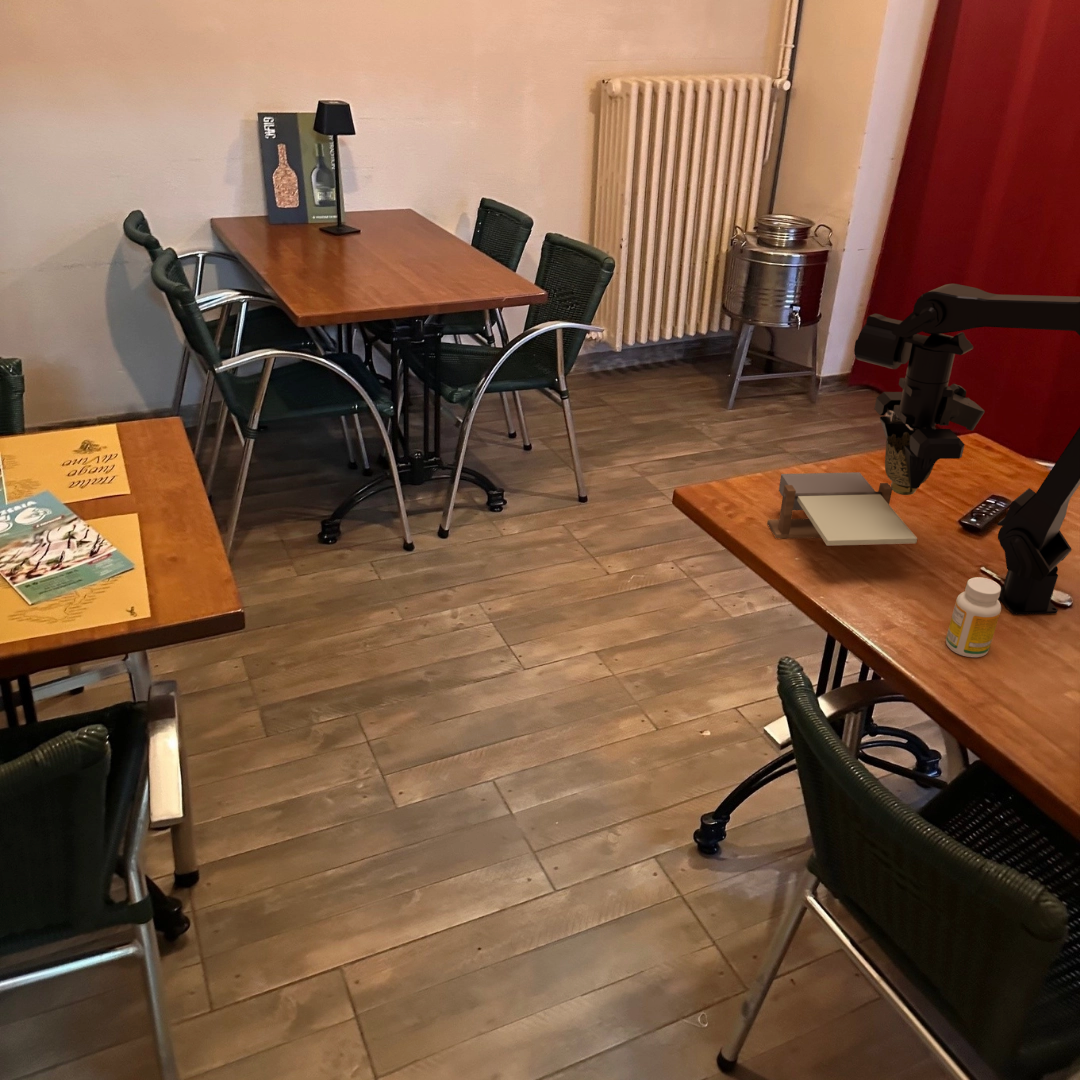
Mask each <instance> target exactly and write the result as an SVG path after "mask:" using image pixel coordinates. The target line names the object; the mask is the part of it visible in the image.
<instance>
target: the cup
mask: <svg viewBox="0 0 1080 1080" xmlns="http://www.w3.org/2000/svg"><path fill="white" fill-rule="evenodd" d="M910 437H911V435H909V433H908V432H905V433H904V434H903V436H902V438H899V437H898V438H896V435H895V434H892V436H891V437H890V436H888V437H887V440H886V441H885V452H884V453H885V455H884V458H885V459H884V471H885V474H886V476H887V478H888V479H889V480H890V481H891V482H890V486H891V488H892V492H894V493H896V494H898V495H902V496H910V495H914V494H915V493H916V491H917V489H918V488H917V489H912V488H911V487H910V483H909V477H908V469H907V462H906V455H905V447H904V446H910V443H909V442H910ZM934 466H935V464H934V465H933V466H932V468H931V469H930V471H929V472H928V474H927V476H926V477H925V479H924V480H923V482H922V483H921V485H923V484H924V483H925V482H926V481H927V480H928V479H929V477H930V475H931V474H932V471H933V469H934Z"/></svg>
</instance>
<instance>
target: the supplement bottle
mask: <svg viewBox="0 0 1080 1080" xmlns="http://www.w3.org/2000/svg"><path fill="white" fill-rule="evenodd" d="M1001 587H1002V586H1001V585H1000V584H999V583H997V582H996V581H994V580H993V579H990V578H986V577H982V576H981V577H980V576H978V577H977V576H976V577H972V578H970V579H968V580H967V582H966V586H965V588H964V589H965V591H963V592H961V593H959V594H958V596H957V597H956V600H955V604H954V608H953V610H952V615H951V619H950V623H949V626H948V629H947V633H946V637H945V643H946V646H947V647H948V648H949V649H950V650H951V651H952V652H954V653H955V654H957V655H959V656H963V657H968V658H981V657H984V656H985V655H987V654H988V652H989V651H990V648H991V645H992V642H993V637H994V634H995V633H996V632H995V631H996V627H997V625H998V621H999V617H1000V614H1001V611H1002V605H1001V603H1000V600H999V596H1000V592H1001Z"/></svg>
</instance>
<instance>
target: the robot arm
mask: <svg viewBox="0 0 1080 1080" xmlns="http://www.w3.org/2000/svg"><path fill="white" fill-rule="evenodd" d="M983 327H984V328H1000V329H1001V328H1005V329H1026V330H1048V331H1064V332H1065V331H1069V332H1071V331H1072V332H1076V333H1077V334H1078V336H1079V337H1080V296H1068V295H1067V296H1065V295H1033V294H1032V295H1031V294H1030V295H1029V294H1028V295H1027V294H1024V295H1023V294H996V293H991V292H987V291H985V290H983V289H980V288H979V287H978V288H977V287H972V286H969V285H962V284H959V283H948V284H944V285H942V286H938V287H937V288H934V289H932V290H929V291H926V292H924V293H922V294H921V295H920V296H919V297H918V298H917V299H916V301H915V303H914V305H913V311H912V312H911V313H910V314H909V315H908V316H907V317H906V318H904V319H903V320H899V319H895V318H891V317H886V316H885V315H882V314H879V313H873V314H870V315H868V316H867V317H866V323H865V324H864V326H863V327H862V328H861V330H860V332H859V335H858V337H857V339H855V343H854V348H853V350H854V351H853V352H854V353H853V354H854V357H855V359H856V360H858V361H861V362H865V363H868V364H873V365H877V366H880V367H885V368H887V369H891V370H897V369H898V368H899V367H901V365H906V364H907V368H906V372H905V377H899V380H898V386H899V387H900V388H901V389H902V391H883V392H881V393H880V394H879V395H878V396H877V397H876V399H875V405H874V410H875V412H876V413H877V414H878V415H879V421H880V423H881V428H882V429H883V432H884V436H885V439H886V440H887V437H888V436H890V437H891V436H892V434H895V435H896V438H898V437H899V438H902V436H903V434H904V433H905V432H908V433H909V435H911V437H910V442H909V443H910V446H904V447H905V455H906V462H907V469H908V477H909V483H910V487H911V488H912V489H919V488H920V486H921V485H922V484H923V483H922V482H923V480H924V479H925V477H926V476H927V474H928V472H929V471H930V469H931V468H932V466H933V465H934V466H935V464H936V463H937V462H938V460H940V459H941V460H944V459H945V460H946V459H947V460H951V459H954V460H956V459H957V460H958V459H961V458H962V457H963V453H964V450H965V443H964V442H963V441H962V440H961V438H960V437H959V436H958V435H957V434H956V433H955V432H954V431H953V430H951V428H936V425H939V426H940V427H941V426H942V427H943V426H945V427H946V426H949V425H950V422H951V423H953V424H955V425H959V426H962V427H964V428H966V430H968V431H974V430H975V428H976V426H977V424H979V422H980V420H981V418H982V417H983V415H984V414H985V409H983V408H982V407H981V406H980V405H979V404H977V403H976V401H973V400H972V399H970V397H967V390H966V389H965V388H964V387H963V386H961V385H958V384H956V383H952V384H951V385H949V382H950V378H951V374H952V368H953V365H954V364H953V363H954V360H955V356H956V355H957V356H962V355H964V354H966V353H968V352H970V351H971V350H974V346H973V344H972V342H971V341H970V340H968V339H967V337H966V334H965V332H963V331H967V330H972V329H976V328H977V329H978V328H983ZM956 332H959V333H957V334H955V335H954V336H952V335H947V334H948V333H956ZM919 333H924V334H929V335H924V334H919ZM934 466H933V467H934ZM921 483H922V484H921ZM1079 487H1080V426H1078V428H1077V430H1076V432H1075V433H1074V435H1073V436H1072V437H1071V439H1070V440H1069V442H1068V443H1067V446H1066V447H1065V448H1064V450H1063V451H1062V453H1061V454H1060V456H1059V457H1058V459H1057V461H1056V462H1055V463H1054V465H1053V466H1052V468H1051V469H1050V471H1049V472H1048V474H1047V475H1046V477H1045V479H1044V480H1043V482H1042V483H1041V485H1040V486H1039V488H1038V489H1037V490H1036V492H1035V491H1034V490H1032V488H1030V487H1029V488H1027V489H1026V490H1025V491H1024V492H1022V493H1021V494H1020V495H1019V496H1017V497H1016V498H1015V499H1013V500H1012V502H1011V503H1010V506H1009V507H1008V510H1007V512H1006V514H1005V517H1003V518H1002V519H1001V520H999V522H997V523H996V524H997V526H999V527H1000V529H999V531H998V533H997V540H998V541H999V545H1000V547H1001V548H1002V550H1003V551H1004V556H1005V565H1006V569H1007V572H1006V574H1005V575H1006V576H1005V579H1004V583H1003V586H1000V587H1001V592H1000V596H999V598H998V600H999V601H1001V603H1002V604H1003V605H1004V606H1005V607H1006V609H1007V610H1009V611H1010V613H1011V614H1013V615H1018V616H1019V615H1020V616H1021V615H1023V616H1024V615H1051V614H1057V613H1058V612H1059V610H1058V608H1057V607H1056V606H1055V604H1053V602H1051V601H1052V597H1053V594H1054V591H1055V587H1056V584H1057V581H1058V578H1059V575H1058V571H1059V568H1058V565H1059V564H1060V563H1061V562H1063V561H1064V559H1066V557H1068V556H1069V554H1070V553H1071V552H1072V547H1071V546H1070V544H1069V542H1068V541H1067V540H1066V538H1065V537H1064V535H1063V533H1062V532H1061V530H1060V529H1061V528H1062V525H1063V523H1064V520H1065V518H1066V515H1067V511H1068V507H1069V503H1070V500H1071V498H1072V497H1073V495H1074V494H1075V492H1076V491H1077V490H1078V488H1079Z"/></svg>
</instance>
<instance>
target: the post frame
mask: <svg viewBox="0 0 1080 1080" xmlns="http://www.w3.org/2000/svg"><path fill="white" fill-rule="evenodd" d="M878 486H879V487H878V490H877V491H876V492H832V493H796V490H795V489H794V487H793V486H792V485H784V491H783V496H782V498H781V499H782V500H781V504H780V505H781V507H780V512H779V519H777V518H775V519H773V518H772V519H767V522H766V524H767V526H768V525H769V526H768V528H769V527H770V528H769V530H770V529H771V530H770V531H771V533H772V532H773V533H772V535H773V534H774V535H775V537H774V538H775V539H776V538H780V539H779V540H782V539H781V538H786V540H787V538H788V539H789V538H793V539H795V538H796V539H822V537H821V536H820V534H819V533H818V531H817V530H816V528H815V527H814V525H813V524H812V522H811V521H810V519H809V518H793V513H794V512H793V511H794V510H793V506H794V499H795V498H798V496H829V495H874V494H880V495H881V496H882V497H883V498H884V499H885V501H886V502H887V503H888V504H889V505H890V502H891V496H892V492H893V490H892V488H891V484H889V483H888V482H880V483H879V485H878ZM774 535H773V536H774ZM793 539H792V540H793Z"/></svg>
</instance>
